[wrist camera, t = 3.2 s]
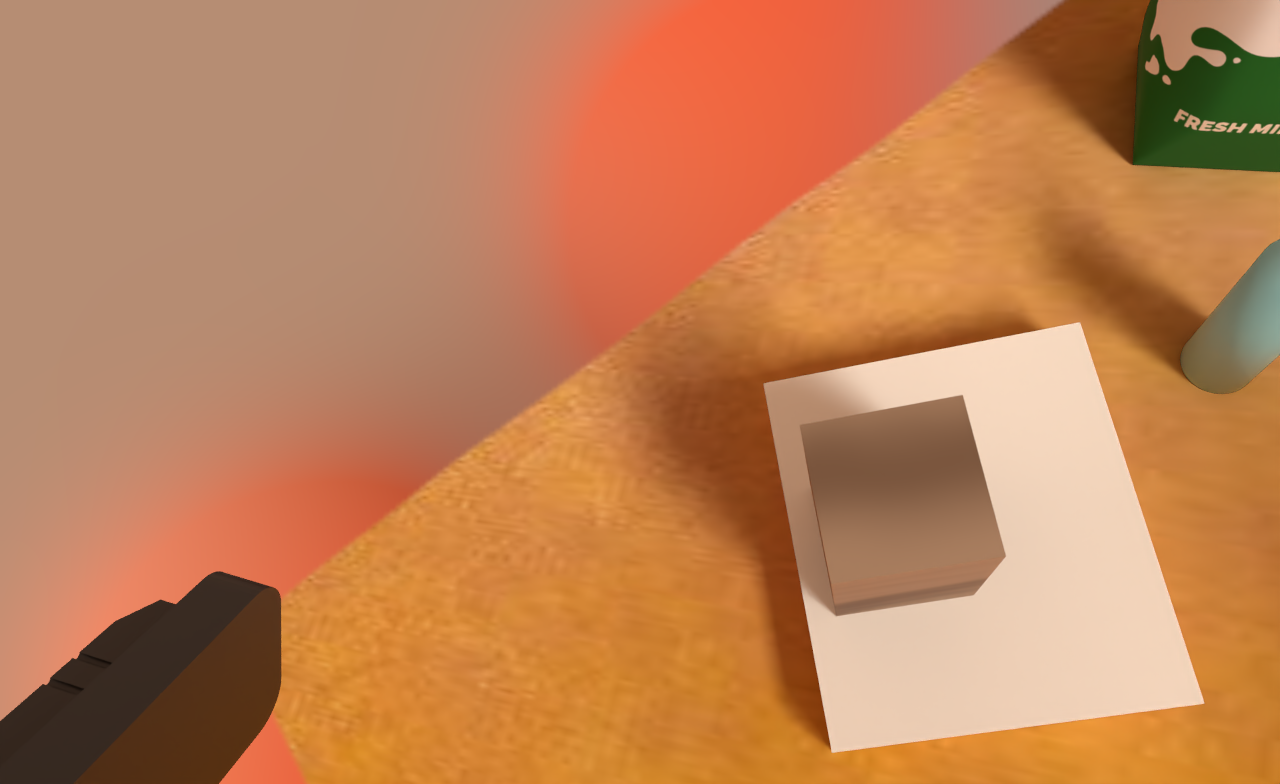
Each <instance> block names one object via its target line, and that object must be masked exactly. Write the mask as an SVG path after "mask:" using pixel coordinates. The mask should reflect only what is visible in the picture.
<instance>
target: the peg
mask: <svg viewBox="0 0 1280 784" xmlns="http://www.w3.org/2000/svg"><path fill="white" fill-rule="evenodd" d="M1279 355H1280V239H1279V240H1277V241H1275V242H1273V243H1272V244H1271V245H1269V246H1268V247H1267V248H1266V249H1265V250H1264V251H1263V253H1262V254H1261V255H1260V256H1259V257H1258V259H1257V260H1256V261H1255V262H1254V263H1253V264H1252V266H1251V267H1250V268H1249V269H1248V270H1247V272H1246V273H1245V274H1244V275H1243V276H1242V278H1241V279H1240V280H1239V281H1238V282H1237V284H1236V285H1235V286H1234V287H1233V288H1232V289H1231V291H1230V292H1229V293H1228V294H1227V295H1226V297H1225V298H1224V299H1223V300H1222V301H1221V303H1220V304H1219V305H1218V306H1217V307H1216V308H1215V310H1214V311H1213V312H1212V313H1211V314H1210V316H1209V317H1208V318H1207V319H1206V320H1205V322H1204V323H1203V324H1202V325H1201V326H1200V328H1199V329H1198V330H1197V331H1196V332H1195V333H1194V335H1193V336H1192V337H1191V338H1190V339H1189V341H1188V342H1187V343H1186V344H1185V346H1184V347H1183V349H1182V352H1181V356H1180V362H1181V367H1182V370H1183V372H1184V374H1185V376H1186V377H1187V378H1188V380H1189V381H1190V382H1191V383H1193V384H1194V385H1195V386H1197V387H1198V388H1200V389H1202V390H1204V391H1207V392H1211V393H1216V394H1227V393H1232V392H1235V391H1238V390H1240V389H1242V388H1243V387H1244V386H1246V385H1247V384H1248V383H1249V382H1250V381H1251V380H1252V379H1253V378H1255V377H1256V376H1257V375H1258V374H1259V373H1260V372H1261V371H1262V370H1263V369H1265V368H1266V367H1267V366H1268V365H1269V364H1270V363H1271V362H1272V361H1273V360H1275V359H1276V358H1277V357H1278V356H1279Z"/></svg>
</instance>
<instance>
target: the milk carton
mask: <svg viewBox="0 0 1280 784" xmlns="http://www.w3.org/2000/svg"><path fill="white" fill-rule="evenodd" d="M1133 165H1151V166H1170V167H1190V168H1210V169H1230V170H1250V171H1270V172H1280V0H1150V3H1149V5H1148V8H1147V11H1146V14H1145V18H1144V22H1143V28H1142V33H1141V37H1140V42H1139V45H1138V63H1137V84H1136V105H1135V126H1134V147H1133Z"/></svg>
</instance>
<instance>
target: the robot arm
mask: <svg viewBox="0 0 1280 784" xmlns="http://www.w3.org/2000/svg"><path fill="white" fill-rule="evenodd" d="M280 685H281V598H280V594H279V592H278V590H277V589H275V588H273V587H270V586H267V585H263V584H260V583H257V582H253V581H250V580H247V579H244V578H240V577H237V576H233V575H230V574H227V573H224V572H214V573H212V574H210V575H208V576H207V577H205V578H204V579H203V580H202V581H201V582H200V583H199V584H198V585H196V586H195V587H194V588H193V589H192V590H191V591H190V592H189V593H188V594H187V595H186V596H185V597H184V598H182V600H180V601H179V602H178V603H177V604H173V603H169V602H166V601H163V600H159V601H157V602H155V603H153V604H151V605H148V606H146V607H144V608H142V609H140V610H138V611H136V612H134V613H132V614H130V615H128V616H125V617H123V618H121V619H119V620H117V621H115V622H114V623H113V624H112V625H110V626H109V627H108V628H107V629H106V630H105V631H103V632H102V633H101V634H100V635H99V636H98V637H97V638H96V639H94V640H93V641H92V642H91V643H90V644H89V645H87V646H86V647H85V648H84V649H83V650H82V651H81V652H80V654H79V656H78V658H77V659H73V658H72V659H71V660H70V661H69V662H68V663H67V664H66V665H64V666H63V667H62V668H61V669H60V670H59V671H57V672H56V673H55V674H54V675H53V676H52V677H51V678H50V682H49V683H48V684H47V685H44V684H43V685H41V686H40V687H39V688H38V689H37V690H36V691H35V692H33V693H32V694H31V695H30V696H29V697H28V698H27V699H25V700H24V701H23V702H22V703H21V704H20V705H18V706H17V707H16V708H15V709H14V710H13V711H12V712H10V713H9V714H8V715H7V716H6V717H5V718H4V719H2V720H1V721H0V784H219V783H220V781H221V780H222V779H223V778H224V776H225V775H226V774H227V773H228V771H229V770H230V769H231V768H232V766H233V765H234V764H235V763H236V761H237V760H238V759H239V758H240V756H241V755H242V754H243V753H244V751H245V750H246V749H247V748H248V746H249V745H250V744H251V743H252V741H253V740H254V739H255V738H256V736H257V735H258V734H259V733H260V731H261V730H262V729H263V727H264V725H265V724H266V722H267V720H268V719H269V717H270V715H271V713H272V711H273V708H274V706H275V703H276V701H277V697H278V694H279V690H280Z"/></svg>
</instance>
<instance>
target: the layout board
mask: <svg viewBox="0 0 1280 784" xmlns="http://www.w3.org/2000/svg"><path fill="white" fill-rule="evenodd" d="M763 384H764V390H765V395H766V401H767V406H768V411H769V417H770V422H771V428H772V433H773V438H774V444H775V449H776V454H777V460H778V465H779V471H780V476H781V481H782V487H783V492H784V497H785V503H786V508H787V514H788V519H789V524H790V530H791V535H792V541H793V546H794V551H795V557H796V562H797V567H798V573H799V578H800V584H801V589H802V594H803V600H804V605H805V610H806V616H807V621H808V627H809V632H810V637H811V643H812V648H813V654H814V659H815V664H816V670H817V675H818V680H819V686H820V691H821V697H822V702H823V707H824V713H825V718H826V723H827V729H828V734H829V740H830V745H831V750H832V753H834V752H841V751H849V750H857V749H864V748H872V747H879V746H887V745H894V744H902V743H910V742H917V741H925V740H932V739H940V738H947V737H955V736H963V735H970V734H978V733H985V732H993V731H1001V730H1008V729H1016V728H1023V727H1031V726H1038V725H1046V724H1054V723H1061V722H1069V721H1076V720H1084V719H1092V718H1099V717H1107V716H1114V715H1122V714H1129V713H1137V712H1145V711H1152V710H1160V709H1167V708H1175V707H1183V706H1190V705H1198V704H1205V703H1204V700H1203V697H1202V694H1201V691H1200V688H1199V685H1198V682H1197V679H1196V676H1195V673H1194V670H1193V667H1192V664H1191V661H1190V657H1189V654H1188V651H1187V648H1186V645H1185V642H1184V639H1183V636H1182V633H1181V630H1180V627H1179V624H1178V621H1177V618H1176V615H1175V612H1174V608H1173V605H1172V602H1171V599H1170V596H1169V593H1168V590H1167V587H1166V584H1165V581H1164V578H1163V575H1162V572H1161V569H1160V566H1159V563H1158V560H1157V556H1156V553H1155V550H1154V547H1153V544H1152V541H1151V538H1150V535H1149V532H1148V529H1147V526H1146V523H1145V520H1144V517H1143V514H1142V511H1141V507H1140V504H1139V501H1138V498H1137V495H1136V492H1135V489H1134V486H1133V483H1132V480H1131V477H1130V474H1129V471H1128V468H1127V465H1126V462H1125V459H1124V455H1123V452H1122V449H1121V446H1120V443H1119V440H1118V437H1117V434H1116V431H1115V428H1114V425H1113V422H1112V419H1111V416H1110V413H1109V410H1108V407H1107V403H1106V400H1105V397H1104V394H1103V391H1102V388H1101V385H1100V382H1099V379H1098V376H1097V373H1096V370H1095V367H1094V364H1093V361H1092V358H1091V354H1090V351H1089V348H1088V345H1087V342H1086V339H1085V336H1084V333H1083V330H1082V327H1081V324H1080V322H1079V323H1074V324H1069V325H1063V326H1058V327H1053V328H1048V329H1043V330H1037V331H1032V332H1027V333H1022V334H1017V335H1011V336H1006V337H1001V338H996V339H991V340H986V341H980V342H975V343H970V344H965V345H960V346H954V347H949V348H944V349H939V350H934V351H929V352H923V353H918V354H913V355H908V356H903V357H897V358H892V359H887V360H882V361H877V362H871V363H866V364H861V365H856V366H851V367H846V368H840V369H835V370H830V371H825V372H820V373H814V374H809V375H804V376H799V377H794V378H789V379H783V380H778V381H773V382H768V383H763ZM959 395H963V398H964V401H965V405H966V409H967V412H968V416H969V420H970V424H971V427H972V431H973V435H974V439H975V442H976V446H977V450H978V454H979V457H980V461H981V465H982V468H983V472H984V476H985V480H986V483H987V487H988V491H989V495H990V498H991V502H992V506H993V509H994V513H995V517H996V521H997V524H998V528H999V532H1000V536H1001V539H1002V543H1003V547H1004V551H1005V554H1006V557H1005V558H1004V559H1003V561H1002V562H1001V563H1000V564H999V565H998V567H997V568H996V569H995V570H994V571H993V573H992V574H991V575H990V576H989V578H988V579H987V580H986V581H985V582H984V584H983V585H982V586H981V587H980V588H979V590H978V591H977V592H976V593H975V594H974V595H972V596H965V597H959V598H952V599H946V600H939V601H933V602H926V603H920V604H913V605H907V606H900V607H894V608H887V609H881V610H874V611H868V612H861V613H855V614H848V615H842V616H836V613H835V608H834V603H833V598H832V593H831V588H830V583H829V578H828V573H827V567H826V562H825V557H824V552H823V547H822V542H821V537H820V532H819V527H818V522H817V517H816V512H815V507H814V502H813V496H812V491H811V486H810V481H809V475H808V469H807V464H806V458H805V452H804V447H803V441H802V435H801V430H800V425H802V424H808V423H813V422H819V421H824V420H829V419H835V418H840V417H846V416H851V415H856V414H862V413H867V412H873V411H878V410H883V409H889V408H894V407H900V406H905V405H910V404H916V403H921V402H927V401H932V400H937V399H943V398H948V397H954V396H959Z"/></svg>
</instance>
